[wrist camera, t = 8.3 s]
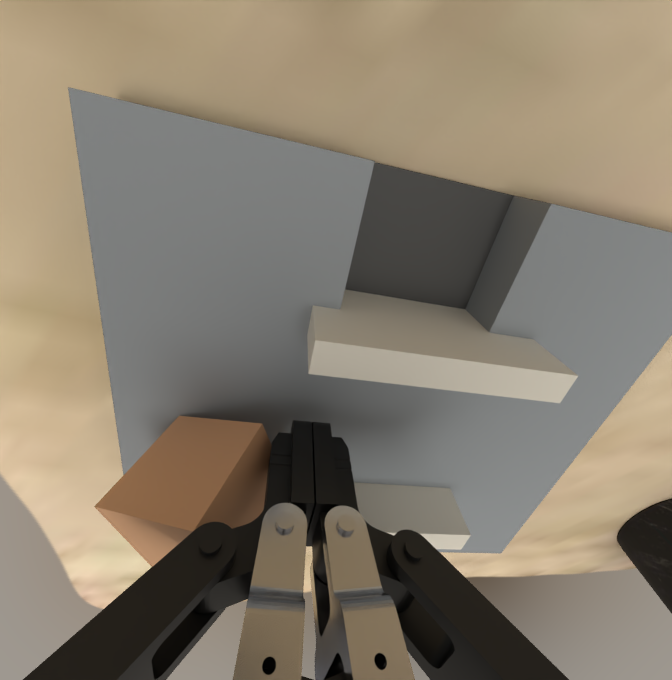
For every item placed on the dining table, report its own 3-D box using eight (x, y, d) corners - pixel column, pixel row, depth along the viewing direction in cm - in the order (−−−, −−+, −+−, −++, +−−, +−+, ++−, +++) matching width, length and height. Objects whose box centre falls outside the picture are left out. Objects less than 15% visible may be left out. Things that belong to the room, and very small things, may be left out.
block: (179, 415, 14) (94, 506, 10) (262, 423, 12) (193, 531, 9) (216, 477, 16) (154, 569, 12) (291, 490, 14) (242, 597, 11)
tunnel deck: (116, 100, 10) (-15, 64, 6) (672, 234, 14) (833, 270, 10) (151, 502, 20) (110, 600, 15) (482, 516, 24) (523, 598, 19)
